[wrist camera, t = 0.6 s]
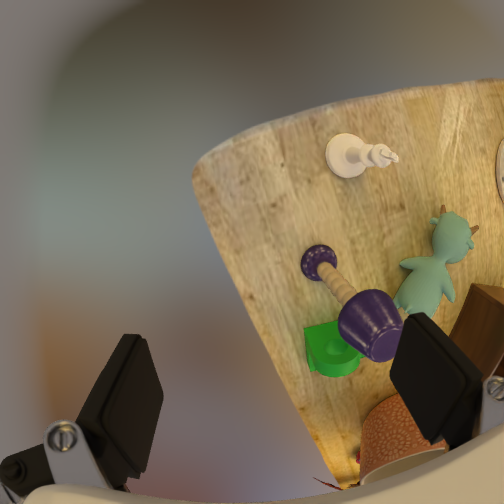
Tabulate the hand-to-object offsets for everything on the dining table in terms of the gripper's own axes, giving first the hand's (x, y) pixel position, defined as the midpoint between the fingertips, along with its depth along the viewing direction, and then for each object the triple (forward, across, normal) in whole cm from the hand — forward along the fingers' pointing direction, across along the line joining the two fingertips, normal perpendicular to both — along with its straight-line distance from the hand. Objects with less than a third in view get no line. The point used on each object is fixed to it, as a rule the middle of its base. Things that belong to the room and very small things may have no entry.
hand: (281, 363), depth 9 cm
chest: (+22, -39, +18) cm, 48 cm away
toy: (+22, -22, +6) cm, 32 cm away
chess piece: (+22, -10, -7) cm, 25 cm away
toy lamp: (+22, -7, +4) cm, 23 cm away
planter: (+21, -26, +35) cm, 48 cm away
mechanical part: (+22, -12, +16) cm, 29 cm away
